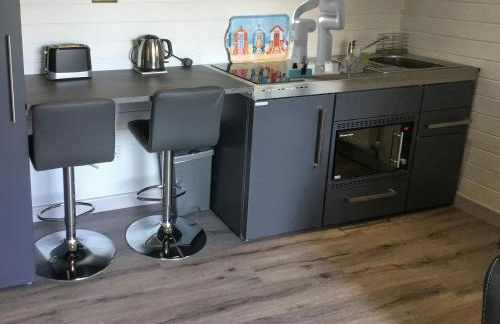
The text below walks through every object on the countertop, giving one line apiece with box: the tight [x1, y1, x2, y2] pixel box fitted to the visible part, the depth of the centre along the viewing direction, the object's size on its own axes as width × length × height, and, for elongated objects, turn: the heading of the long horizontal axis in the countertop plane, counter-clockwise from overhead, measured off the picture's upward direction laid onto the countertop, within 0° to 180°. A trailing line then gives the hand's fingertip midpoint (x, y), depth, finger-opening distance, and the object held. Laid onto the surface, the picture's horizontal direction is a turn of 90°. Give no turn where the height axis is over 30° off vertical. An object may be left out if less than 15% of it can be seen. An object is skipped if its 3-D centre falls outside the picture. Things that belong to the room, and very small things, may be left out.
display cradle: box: [307, 60, 341, 76], centre depth 338 cm, size 10×18×6 cm, turn 116°
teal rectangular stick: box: [285, 67, 313, 79], centre depth 326 cm, size 4×15×4 cm, turn 116°
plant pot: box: [362, 51, 372, 68], centre depth 364 cm, size 9×9×9 cm
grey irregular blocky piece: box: [338, 46, 364, 74], centre depth 348 cm, size 16×16×15 cm
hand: (299, 73), depth 326 cm, fingers open, 9 cm apart
